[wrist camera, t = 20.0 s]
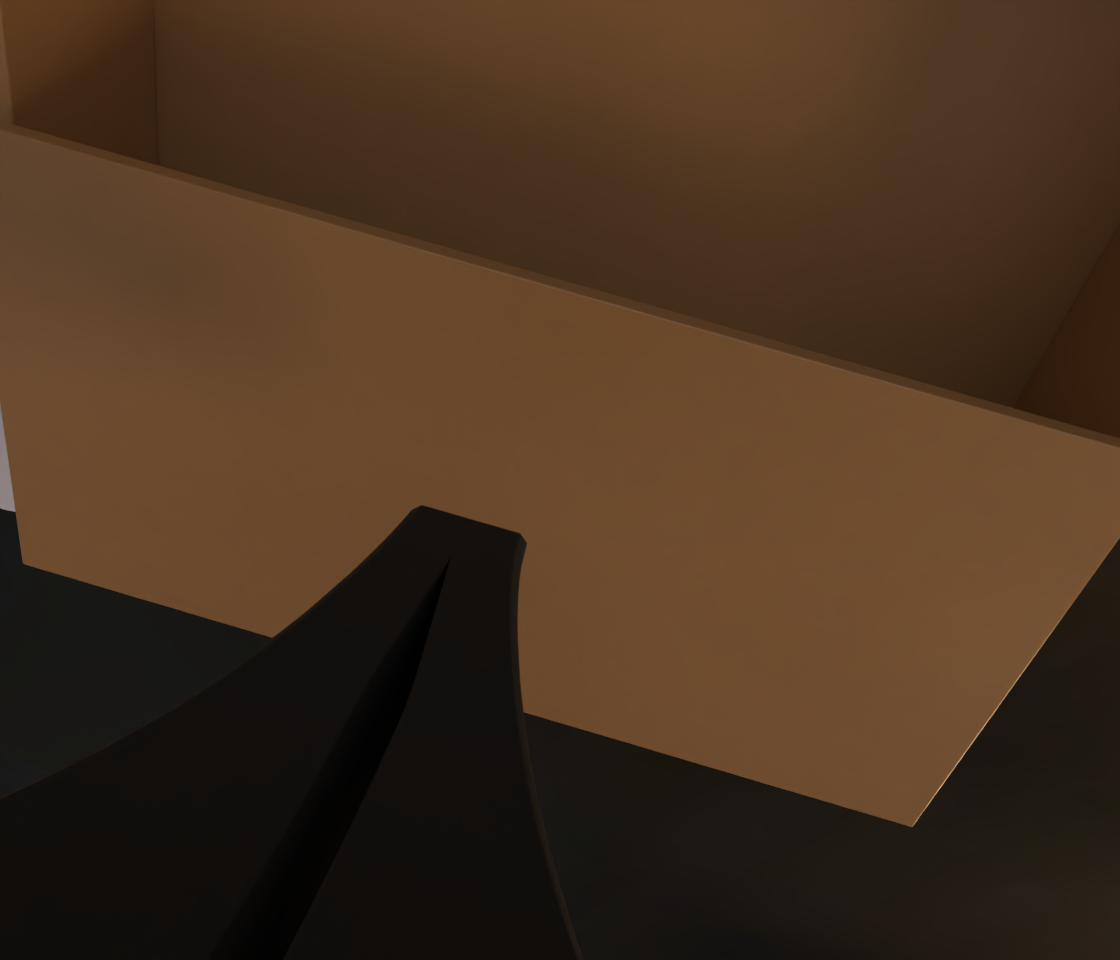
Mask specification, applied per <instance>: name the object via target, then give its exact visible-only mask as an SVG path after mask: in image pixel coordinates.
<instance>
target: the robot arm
mask: <svg viewBox="0 0 1120 960" xmlns="http://www.w3.org/2000/svg"><path fill="white" fill-rule="evenodd" d="M0 508H1V509H5V510H8V511H14V512H16V511H15V504H14V497H13V490H12V483H11V476H10V469H9V462H8V455H7V448H6V441H5V434H4V427H3V420H2V413H1V406H0ZM526 547H527V542H526V541H525V539H524V538H523V536H522V535H521V533H517V532H514V531H511V530H507V529H504V528H500V527H497V526H493V525H490V524H486V523H483V522H479V521H476V520H472V519H469V518H465V517H462V516H458V515H455V514H451V513H448V512H445V511H441V510H438V509H434V508H431V507H427V506H424V505H421V506H419V507H417V508H414V509H412V510H411V511H410V512H409V513H408V515H407V516H406V517H405V518H404V519H403V520H402V522H401V523H400V524H399V525H398V526H397V527H396V528H395V529H394V530H393V531H392V532H391V533H390V535H389V536H388V537H387V538H386V539H385V540H384V541H383V542H382V543H381V544H380V545H379V546H378V547H377V548H376V549H375V550H374V551H373V552H372V553H371V554H370V555H369V556H368V557H366V558H365V559H364V560H363V561H362V562H361V563H360V564H359V565H358V566H357V567H356V568H355V569H354V570H353V571H352V572H351V573H350V574H348V575H347V576H346V577H345V578H344V579H343V580H342V581H340V582H339V583H338V584H337V585H336V586H335V587H334V588H333V589H331V590H330V591H329V592H328V593H327V594H326V595H325V596H323V597H322V598H321V599H320V600H319V601H318V602H317V603H315V604H314V605H313V606H312V607H311V608H310V609H308V610H307V611H306V612H305V613H304V614H302V615H301V616H300V617H299V618H297V619H296V620H295V621H293V622H292V623H291V624H290V625H288V626H287V627H286V628H284V629H283V630H282V631H281V632H279V633H278V634H277V635H275V636H274V637H273V638H272V639H270V640H269V641H268V642H266V643H265V644H264V645H263V646H261V647H260V648H259V649H257V650H256V651H255V652H253V653H252V654H251V655H249V656H248V657H247V658H245V659H244V660H242V661H241V662H240V663H238V664H237V665H235V666H234V667H232V668H231V669H230V670H228V671H227V672H225V673H224V674H222V675H221V676H219V677H218V678H217V679H215V680H214V681H212V682H211V683H209V684H207V685H206V686H204V687H203V688H201V689H200V690H198V691H197V692H195V693H194V694H192V695H191V696H189V697H187V698H186V699H184V700H183V701H181V702H180V703H178V704H176V705H175V706H173V707H171V708H170V709H168V710H166V711H164V712H163V713H161V714H159V715H158V716H156V717H154V718H153V719H151V720H149V721H148V722H146V723H144V724H142V725H141V726H139V727H137V728H136V729H134V730H132V731H131V732H129V733H127V734H125V735H124V736H122V737H120V738H118V739H116V740H114V741H113V742H111V743H109V744H107V745H105V746H104V747H102V748H100V749H98V750H96V751H94V752H92V753H90V754H88V755H86V756H84V757H82V758H80V759H78V760H76V761H74V762H72V763H70V764H68V765H66V766H64V767H62V768H60V769H58V770H56V771H54V772H52V773H50V774H48V775H45V776H43V777H41V778H39V779H37V780H35V781H33V782H31V783H29V784H27V785H25V786H23V787H21V788H19V789H17V790H15V791H13V792H11V793H9V794H7V795H4V796H2V797H0V960H584V959H583V957H582V954H581V951H580V948H579V945H578V943H577V940H576V937H575V934H574V930H573V927H572V924H571V920H570V917H569V914H568V910H567V907H566V904H565V900H564V897H563V894H562V890H561V887H560V884H559V880H558V877H557V874H556V870H555V867H554V864H553V860H552V856H551V853H550V849H549V844H548V840H547V836H546V832H545V828H544V824H543V820H542V815H541V811H540V806H539V801H538V796H537V792H536V787H535V782H534V777H533V771H532V766H531V760H530V754H529V748H528V741H527V734H526V727H525V719H524V711H523V703H522V693H521V683H520V667H519V649H518V594H519V582H520V573H521V566H522V563H523V559H524V555H525V551H526Z"/></svg>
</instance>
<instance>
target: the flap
mask: <svg viewBox="0 0 1120 960" xmlns="http://www.w3.org/2000/svg"><path fill="white" fill-rule="evenodd" d="M0 406H1V413H2V420H3V427H4V434H5V441H6V448H7V455H8V462H9V469H10V476H11V483H12V490H13V497H14V504H15V511H16V518H17V525H18V532H19V539H20V546H21V553H22V560H23V564H26V565H29V566H32V567H36V568H39V569H42V570H46V571H49V572H53V573H56V574H59V575H63V576H66V577H69V578H73V579H76V580H80V581H83V582H86V583H90V584H93V585H97V586H100V587H103V588H107V589H110V590H113V591H117V592H120V593H124V594H127V595H130V596H134V597H137V598H140V599H144V600H147V601H151V602H154V603H157V604H161V605H164V606H167V607H171V608H174V609H178V610H181V611H184V612H188V613H191V614H194V615H198V616H201V617H205V618H208V619H211V620H215V621H218V622H221V623H225V624H228V625H232V626H235V627H238V628H242V629H245V630H248V631H252V632H255V633H259V634H262V635H265V636H269V637H272V638H273V637H274V636H275V635H277V634H278V633H279V632H281V631H282V630H283V629H284V628H286V627H287V626H288V625H290V624H291V623H292V622H293V621H295V620H296V619H297V618H299V617H300V616H301V615H302V614H304V613H305V612H306V611H307V610H308V609H310V608H311V607H312V606H313V605H314V604H315V603H317V602H318V601H319V600H320V599H321V598H322V597H323V596H325V595H326V594H327V593H328V592H329V591H330V590H331V589H333V588H334V587H335V586H336V585H337V584H338V583H339V582H340V581H342V580H343V579H344V578H345V577H346V576H347V575H348V574H350V573H351V572H352V571H353V570H354V569H355V568H356V567H357V566H358V565H359V564H360V563H361V562H362V561H363V560H364V559H365V558H366V557H368V556H369V555H370V554H371V553H372V552H373V551H374V550H375V549H376V548H377V547H378V546H379V545H380V544H381V543H382V542H383V541H384V540H385V539H386V538H387V537H388V536H389V535H390V533H391V532H392V531H393V530H394V529H395V528H396V527H397V526H398V525H399V524H400V523H401V522H402V520H403V519H404V518H405V517H406V516H407V515H408V513H409V512H410V511H411V510H412V509H414V508H417V507H419V506H421V505H424V506H427V507H431V508H434V509H438V510H441V511H445V512H448V513H451V514H455V515H458V516H462V517H465V518H469V519H472V520H476V521H479V522H483V523H486V524H490V525H493V526H497V527H500V528H504V529H507V530H511V531H514V532H517V533H521V535H522V536H523V538H524V539H525V541H526V542H527V547H526V551H525V555H524V559H523V563H522V566H521V573H520V582H519V594H518V649H519V667H520V683H521V693H522V703H523V711H524V712H525V713H529V714H532V715H536V716H539V717H542V718H546V719H549V720H552V721H556V722H559V723H563V724H566V725H569V726H573V727H576V728H579V729H583V730H586V731H590V732H593V733H596V734H600V735H603V736H606V737H610V738H613V739H617V740H620V741H623V742H627V743H630V744H633V745H637V746H640V747H644V748H647V749H650V750H654V751H657V752H661V753H664V754H667V755H671V756H674V757H677V758H681V759H684V760H688V761H691V762H694V763H698V764H701V765H704V766H708V767H711V768H715V769H718V770H721V771H725V772H728V773H731V774H735V775H738V776H742V777H745V778H748V779H752V780H755V781H758V782H762V783H765V784H769V785H772V786H775V787H779V788H782V789H785V790H789V791H792V792H796V793H799V794H802V795H806V796H809V797H812V798H816V799H819V800H823V801H826V802H829V803H833V804H836V805H839V806H843V807H846V808H850V809H853V810H856V811H860V812H863V813H867V814H870V815H873V816H877V817H880V818H883V819H887V820H890V821H894V822H897V823H900V824H904V825H907V826H910V827H912V826H913V825H914V824H915V823H916V821H917V820H918V818H919V817H920V816H921V814H922V813H923V811H924V810H925V809H926V807H927V806H928V804H929V803H930V802H931V800H932V799H933V797H934V796H935V795H936V793H937V792H938V790H939V789H940V788H941V786H942V785H943V783H944V782H945V781H946V779H947V778H948V776H949V775H950V774H951V772H952V771H953V770H954V768H955V767H956V765H957V764H958V763H959V761H960V760H961V758H962V757H963V756H964V754H965V753H966V751H967V750H968V749H969V747H970V746H971V744H972V743H973V742H974V740H975V739H976V737H977V736H978V735H979V733H980V732H981V730H982V729H983V728H984V726H985V725H986V723H987V722H988V721H989V719H990V718H991V716H992V715H993V714H994V712H995V711H996V710H997V708H998V707H999V705H1000V704H1001V703H1002V701H1003V700H1004V698H1005V697H1006V696H1007V694H1008V693H1009V691H1010V690H1011V689H1012V687H1013V686H1014V684H1015V683H1016V682H1017V680H1018V679H1019V677H1020V676H1021V675H1022V673H1023V672H1024V670H1025V669H1026V668H1027V666H1028V665H1029V663H1030V662H1031V661H1032V659H1033V658H1034V656H1035V655H1036V654H1037V652H1038V651H1039V650H1040V648H1041V647H1042V645H1043V644H1044V643H1045V641H1046V640H1047V638H1048V637H1049V636H1050V634H1051V633H1052V631H1053V630H1054V629H1055V627H1056V626H1057V624H1058V623H1059V622H1060V620H1061V619H1062V617H1063V616H1064V615H1065V613H1066V612H1067V610H1068V609H1069V608H1070V606H1071V605H1072V603H1073V602H1074V601H1075V599H1076V598H1077V596H1078V595H1079V594H1080V592H1081V591H1082V590H1083V588H1084V587H1085V585H1086V584H1087V583H1088V581H1089V580H1090V578H1091V577H1092V576H1093V574H1094V573H1095V571H1096V570H1097V569H1098V567H1099V566H1100V564H1101V563H1102V562H1103V560H1104V559H1105V557H1106V556H1107V555H1108V553H1109V552H1110V550H1111V549H1112V548H1113V546H1114V545H1115V543H1116V542H1117V541H1118V539H1119V538H1120V438H1116V437H1113V436H1109V435H1106V434H1102V433H1099V432H1095V431H1092V430H1088V429H1085V428H1081V427H1078V426H1074V425H1070V424H1067V423H1063V422H1060V421H1056V420H1053V419H1049V418H1046V417H1042V416H1039V415H1035V414H1032V413H1028V412H1025V411H1021V410H1018V409H1014V408H1011V407H1007V406H1004V405H1000V404H997V403H993V402H989V401H986V400H982V399H979V398H975V397H972V396H968V395H965V394H961V393H958V392H954V391H951V390H947V389H944V388H940V387H937V386H933V385H930V384H926V383H923V382H919V381H916V380H912V379H908V378H905V377H901V376H898V375H894V374H891V373H887V372H884V371H880V370H877V369H873V368H870V367H866V366H863V365H859V364H856V363H852V362H849V361H845V360H842V359H838V358H834V357H831V356H827V355H824V354H820V353H817V352H813V351H810V350H806V349H803V348H799V347H796V346H792V345H789V344H785V343H782V342H778V341H775V340H771V339H768V338H764V337H761V336H757V335H753V334H750V333H746V332H743V331H739V330H736V329H732V328H729V327H725V326H722V325H718V324H715V323H711V322H708V321H704V320H701V319H697V318H694V317H690V316H687V315H683V314H680V313H676V312H672V311H669V310H665V309H662V308H658V307H655V306H651V305H648V304H644V303H641V302H637V301H634V300H630V299H627V298H623V297H620V296H616V295H613V294H609V293H606V292H602V291H598V290H595V289H591V288H588V287H584V286H581V285H577V284H574V283H570V282H567V281H563V280H560V279H556V278H553V277H549V276H546V275H542V274H539V273H535V272H532V271H528V270H525V269H521V268H517V267H514V266H510V265H507V264H503V263H500V262H496V261H493V260H489V259H486V258H482V257H479V256H475V255H472V254H468V253H465V252H461V251H458V250H454V249H451V248H447V247H444V246H440V245H436V244H433V243H429V242H426V241H422V240H419V239H415V238H412V237H408V236H405V235H401V234H398V233H394V232H391V231H387V230H384V229H380V228H377V227H373V226H370V225H366V224H362V223H359V222H355V221H352V220H348V219H345V218H341V217H338V216H334V215H331V214H327V213H324V212H320V211H317V210H313V209H310V208H306V207H303V206H299V205H296V204H292V203H289V202H285V201H281V200H278V199H274V198H271V197H267V196H264V195H260V194H257V193H253V192H250V191H246V190H243V189H239V188H236V187H232V186H229V185H225V184H222V183H218V182H215V181H211V180H208V179H204V178H200V177H197V176H193V175H190V174H186V173H183V172H179V171H176V170H172V169H169V168H165V167H162V166H158V165H155V164H151V163H148V162H144V161H141V160H137V159H134V158H130V157H126V156H123V155H119V154H116V153H112V152H109V151H105V150H102V149H98V148H95V147H91V146H88V145H84V144H81V143H77V142H74V141H70V140H67V139H63V138H60V137H56V136H53V135H49V134H45V133H42V132H38V131H35V130H31V129H28V128H24V127H21V126H17V125H14V124H10V123H7V122H3V121H0Z"/></svg>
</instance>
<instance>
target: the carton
mask: <svg viewBox="0 0 1120 960" xmlns="http://www.w3.org/2000/svg"><path fill="white" fill-rule="evenodd" d="M0 121H3V122H7V123H10V124H14V125H17V126H21V127H24V128H28V129H31V130H35V131H38V132H42V133H45V134H49V135H53V136H56V137H60V138H63V139H67V140H70V141H74V142H77V143H81V144H84V145H88V146H91V147H95V148H98V149H102V150H105V151H109V152H112V153H116V154H119V155H123V156H126V157H130V158H134V159H137V160H141V161H144V162H148V163H151V164H155V165H158V166H162V167H165V168H169V169H172V170H176V171H179V172H183V173H186V174H190V175H193V176H197V177H200V178H204V179H208V180H211V181H215V182H218V183H222V184H225V185H229V186H232V187H236V188H239V189H243V190H246V191H250V192H253V193H257V194H260V195H264V196H267V197H271V198H274V199H278V200H281V201H285V202H289V203H292V204H296V205H299V206H303V207H306V208H310V209H313V210H317V211H320V212H324V213H327V214H331V215H334V216H338V217H341V218H345V219H348V220H352V221H355V222H359V223H362V224H366V225H370V226H373V227H377V228H380V229H384V230H387V231H391V232H394V233H398V234H401V235H405V236H408V237H412V238H415V239H419V240H422V241H426V242H429V243H433V244H436V245H440V246H444V247H447V248H451V249H454V250H458V251H461V252H465V253H468V254H472V255H475V256H479V257H482V258H486V259H489V260H493V261H496V262H500V263H503V264H507V265H510V266H514V267H517V268H521V269H525V270H528V271H532V272H535V273H539V274H542V275H546V276H549V277H553V278H556V279H560V280H563V281H567V282H570V283H574V284H577V285H581V286H584V287H588V288H591V289H595V290H598V291H602V292H606V293H609V294H613V295H616V296H620V297H623V298H627V299H630V300H634V301H637V302H641V303H644V304H648V305H651V306H655V307H658V308H662V309H665V310H669V311H672V312H676V313H680V314H683V315H687V316H690V317H694V318H697V319H701V320H704V321H708V322H711V323H715V324H718V325H722V326H725V327H729V328H732V329H736V330H739V331H743V332H746V333H750V334H753V335H757V336H761V337H764V338H768V339H771V340H775V341H778V342H782V343H785V344H789V345H792V346H796V347H799V348H803V349H806V350H810V351H813V352H817V353H820V354H824V355H827V356H831V357H834V358H838V359H842V360H845V361H849V362H852V363H856V364H859V365H863V366H866V367H870V368H873V369H877V370H880V371H884V372H887V373H891V374H894V375H898V376H901V377H905V378H908V379H912V380H916V381H919V382H923V383H926V384H930V385H933V386H937V387H940V388H944V389H947V390H951V391H954V392H958V393H961V394H965V395H968V396H972V397H975V398H979V399H982V400H986V401H989V402H993V403H997V404H1000V405H1004V406H1007V407H1011V408H1014V409H1018V410H1021V411H1025V412H1028V413H1032V414H1035V415H1039V416H1042V417H1046V418H1049V419H1053V420H1056V421H1060V422H1063V423H1067V424H1070V425H1074V426H1078V427H1081V428H1085V429H1088V430H1092V431H1095V432H1099V433H1102V434H1106V435H1109V436H1113V437H1116V438H1120V0H0Z"/></svg>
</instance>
